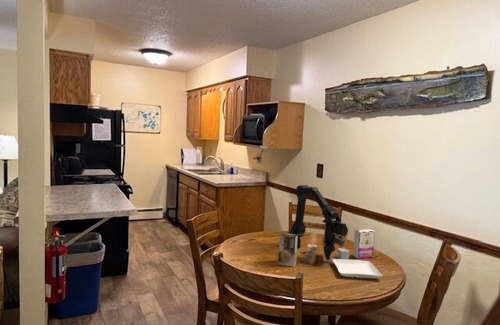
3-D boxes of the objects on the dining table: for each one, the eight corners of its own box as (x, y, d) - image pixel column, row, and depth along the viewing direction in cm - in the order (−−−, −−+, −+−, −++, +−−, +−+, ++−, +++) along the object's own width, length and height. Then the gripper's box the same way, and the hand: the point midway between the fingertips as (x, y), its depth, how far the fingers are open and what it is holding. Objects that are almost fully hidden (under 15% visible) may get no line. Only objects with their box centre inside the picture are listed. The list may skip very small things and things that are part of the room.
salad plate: (330, 263, 195) (331, 257, 194) (369, 266, 194) (369, 260, 194) (339, 279, 173) (339, 272, 173) (382, 282, 173) (382, 275, 172)
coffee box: (296, 263, 191) (298, 234, 190) (293, 267, 185) (296, 237, 184) (280, 260, 194) (282, 232, 193) (277, 264, 188) (279, 235, 187)
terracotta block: (323, 261, 197) (323, 252, 197) (322, 258, 202) (323, 249, 201) (332, 262, 196) (332, 253, 196) (331, 259, 201) (332, 250, 201)
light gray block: (341, 259, 201) (341, 251, 201) (336, 256, 206) (337, 248, 206) (348, 259, 202) (349, 251, 202) (344, 256, 207) (345, 248, 207)
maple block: (308, 255, 206) (308, 246, 206) (307, 252, 211) (307, 244, 211) (316, 255, 206) (317, 247, 206) (315, 252, 211) (315, 244, 211)
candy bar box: (367, 255, 212) (369, 228, 211) (373, 257, 208) (375, 230, 206) (352, 256, 208) (354, 229, 207) (357, 259, 203) (360, 231, 202)
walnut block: (303, 262, 193) (304, 253, 192) (306, 260, 197) (307, 251, 197) (312, 264, 191) (313, 255, 190) (315, 261, 195) (315, 253, 195)
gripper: (345, 237, 187) (343, 265, 188) (343, 229, 205) (341, 254, 206) (324, 235, 189) (322, 263, 190) (323, 226, 207) (321, 252, 209)
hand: (327, 258), depth 199 cm, fingers closed on terracotta block, 5 cm apart
